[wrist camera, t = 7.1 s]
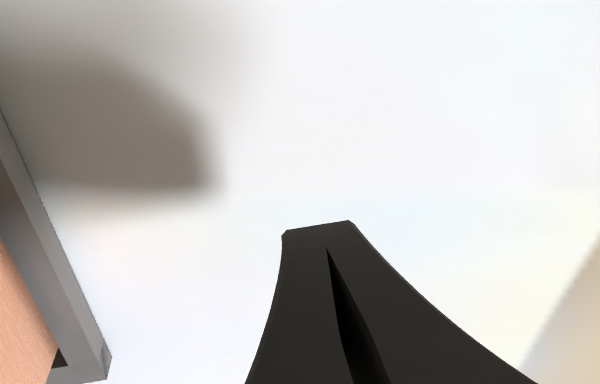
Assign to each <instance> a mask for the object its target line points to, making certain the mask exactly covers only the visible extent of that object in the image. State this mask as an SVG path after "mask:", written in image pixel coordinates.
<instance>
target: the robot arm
mask: <svg viewBox="0 0 600 384" xmlns="http://www.w3.org/2000/svg"><path fill="white" fill-rule="evenodd" d="M281 237H282V254H281V263H280V269H279V275H278V280H277V284H276V289H275V293H274V297H273V301H272V305H271V309H270V313H269V316H268V319H267V322H266V326H265V329H264V332H263V335H262V338H261V341H260V344H259V347H258V350H257V353H256V356H255V359H254V361H253V364H252V367H251V369H250V372H249V374H248V377H247V379H246V382H245V384H537V383H536V382H534V381H533V380H531V379H529V378H528V377H527V376H525V375H524V374H522V373H521V372H519V371H518V370H516V369H515V368H513V367H512V366H511V365H509V364H508V363H506V362H505V361H503V360H502V359H500V358H499V357H498V356H496V355H495V354H494V353H492V352H491V351H490V350H488V349H487V348H485V347H484V346H483V345H481V344H480V343H479V342H477V341H476V340H475V339H473V338H472V337H471V336H470V335H468V334H467V333H466V332H464V331H463V330H462V329H461V328H459V327H458V326H457V325H456V324H455V323H453V322H452V321H451V320H450V319H449V318H447V317H446V316H445V315H444V314H443V313H441V312H440V311H439V310H438V309H437V308H436V307H434V306H433V305H432V304H431V303H430V302H429V301H428V300H427V299H425V298H424V297H423V296H422V295H421V294H420V293H419V292H418V291H417V290H416V289H415V288H414V287H413V286H412V285H410V284H409V283H408V282H407V281H406V280H405V279H404V278H403V277H402V276H401V275H400V274H399V273H398V272H397V271H396V270H395V269H394V268H393V267H392V266H391V265H390V264H389V263H388V262H387V261H386V260H385V259H384V258H383V257H382V255H381V254H380V253H379V252H378V251H377V250H376V249H375V248H374V247H373V246H372V245H371V243H370V242H369V241H368V240H367V239H366V238H365V237H364V235H363V234H362V233H361V232H360V231H359V229H358V228H357V227H356V226H355V224H353V223H352V222H351V221H349V220H346V221H340V222H333V223H327V224H321V225H315V226H309V227H303V228H296V229H290V230H286V231H285V232H284V234H283V235H282V236H281Z"/></svg>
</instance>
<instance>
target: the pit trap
mask: <svg viewBox="0 0 600 384" xmlns="http://www.w3.org/2000/svg"><path fill="white" fill-rule="evenodd" d="M0 237H1V239H2V241H3V243H4V245H5V247H6V248H7V250H8V252H9V254H10V256H11V258H12V260H13V262H14V264H15V265H16V267H17V269H18V271H19V273H20V275H21V277H22V279H23V280H24V282H25V284H26V286H27V288H28V290H29V292H30V294H31V295H32V297H33V299H34V301H35V303H36V305H37V307H38V309H39V310H40V312H41V314H42V316H43V318H44V320H45V322H46V324H47V326H48V327H49V329H50V331H51V333H52V335H53V337H54V339H55V341H56V342H57V344H58V346H59V347H58V349H57V352H56V355H55V358H54V361H53V363H52V366H51V369H50V372H49V375H48V378H47V380H46V383H45V384H83V383H89V382H95V381H100V380H106V379H107V376H108V372H109V368H110V363H111V359H112V356H111V353H110V351H109V349H108V347H107V345H106V342H105V340H104V338H103V336H102V334H101V331H100V329H99V327H98V325H97V323H96V320H95V318H94V316H93V314H92V312H91V309H90V307H89V305H88V303H87V301H86V298H85V296H84V294H83V292H82V290H81V287H80V285H79V283H78V281H77V279H76V276H75V274H74V272H73V270H72V268H71V265H70V263H69V261H68V259H67V257H66V254H65V252H64V250H63V248H62V246H61V243H60V241H59V239H58V237H57V235H56V232H55V230H54V228H53V226H52V224H51V221H50V219H49V217H48V215H47V213H46V210H45V208H44V206H43V204H42V202H41V199H40V197H39V195H38V193H37V191H36V188H35V186H34V184H33V182H32V180H31V177H30V175H29V173H28V171H27V169H26V166H25V164H24V162H23V160H22V158H21V155H20V153H19V151H18V149H17V147H16V144H15V142H14V140H13V138H12V136H11V133H10V131H9V129H8V127H7V125H6V122H5V120H4V118H3V116H2V114H1V111H0Z"/></svg>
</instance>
